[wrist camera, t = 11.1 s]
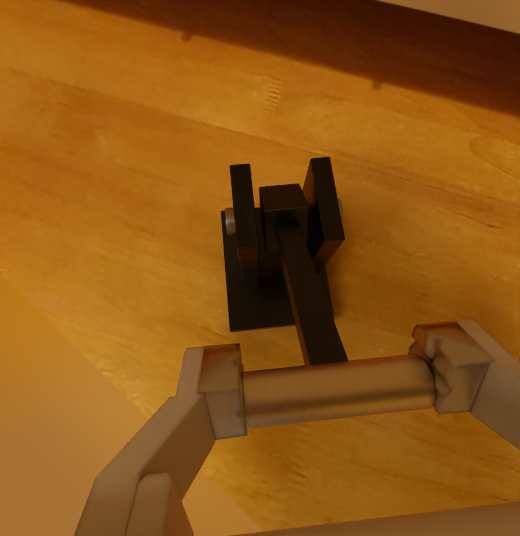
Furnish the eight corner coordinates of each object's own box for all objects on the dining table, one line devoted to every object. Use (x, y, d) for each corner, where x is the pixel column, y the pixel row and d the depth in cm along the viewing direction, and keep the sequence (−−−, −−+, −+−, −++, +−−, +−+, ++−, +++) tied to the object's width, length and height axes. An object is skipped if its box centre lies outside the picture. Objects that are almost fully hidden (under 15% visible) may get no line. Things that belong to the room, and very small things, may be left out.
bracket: (330, 322, 25) (390, 296, 14) (231, 332, 25) (207, 314, 13) (312, 208, 28) (350, 106, 16) (222, 216, 27) (196, 119, 16)
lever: (423, 426, 9) (449, 378, 7) (248, 446, 9) (240, 401, 7) (321, 219, 18) (324, 180, 17) (237, 227, 18) (232, 188, 17)
